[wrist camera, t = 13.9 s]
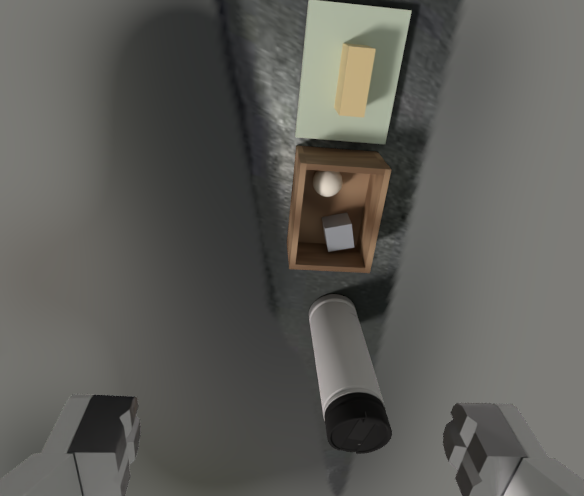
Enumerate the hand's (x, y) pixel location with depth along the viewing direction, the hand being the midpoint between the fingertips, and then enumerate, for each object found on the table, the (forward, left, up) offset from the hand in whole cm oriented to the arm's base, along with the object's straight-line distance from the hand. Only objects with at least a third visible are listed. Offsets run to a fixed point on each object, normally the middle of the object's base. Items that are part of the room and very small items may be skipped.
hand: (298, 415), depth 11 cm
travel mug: (+26, +10, -39) cm, 48 cm away
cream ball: (+7, +6, -38) cm, 40 cm away
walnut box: (+10, +7, -39) cm, 41 cm away
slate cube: (+13, +8, -38) cm, 41 cm away
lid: (-4, +7, -39) cm, 40 cm away
